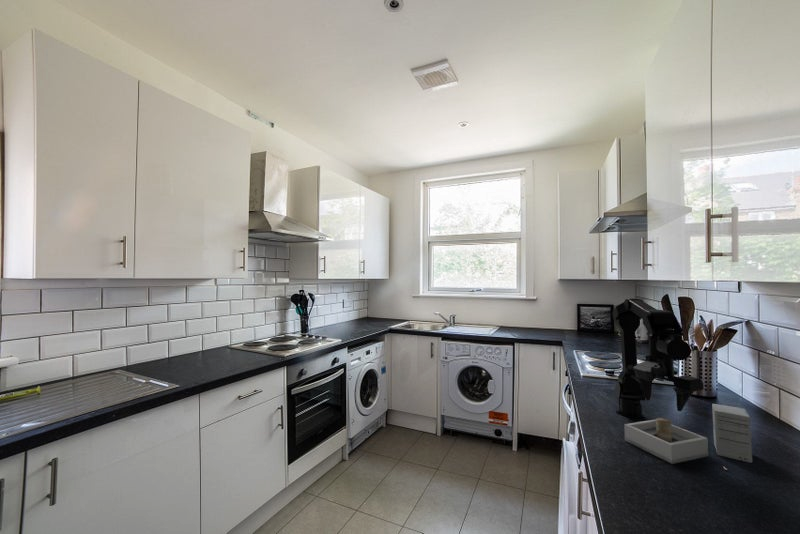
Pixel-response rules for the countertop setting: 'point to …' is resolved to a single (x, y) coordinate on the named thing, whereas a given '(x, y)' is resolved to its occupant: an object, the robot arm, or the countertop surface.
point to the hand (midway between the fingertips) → (663, 405)
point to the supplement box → (732, 432)
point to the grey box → (673, 452)
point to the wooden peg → (664, 429)
